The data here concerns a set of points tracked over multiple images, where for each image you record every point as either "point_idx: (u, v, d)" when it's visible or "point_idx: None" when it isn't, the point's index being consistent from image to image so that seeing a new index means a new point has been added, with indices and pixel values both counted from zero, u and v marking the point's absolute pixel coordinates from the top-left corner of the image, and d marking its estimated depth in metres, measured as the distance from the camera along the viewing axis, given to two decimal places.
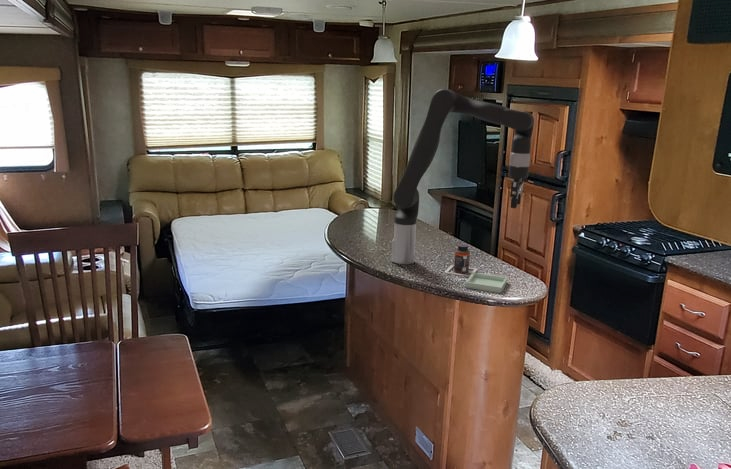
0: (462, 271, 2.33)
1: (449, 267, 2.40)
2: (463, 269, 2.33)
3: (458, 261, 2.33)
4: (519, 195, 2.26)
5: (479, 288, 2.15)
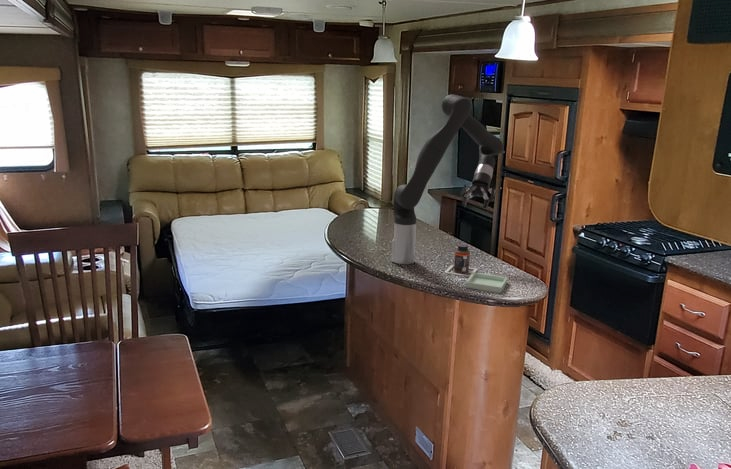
0: (462, 271, 2.33)
1: (449, 267, 2.40)
2: (463, 269, 2.33)
3: (458, 261, 2.33)
4: (467, 200, 2.46)
5: (479, 288, 2.15)
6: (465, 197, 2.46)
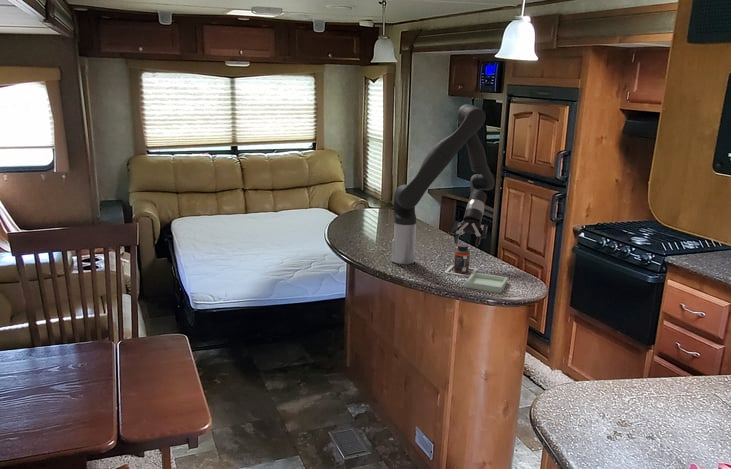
0: (462, 271, 2.33)
1: (449, 267, 2.40)
2: (463, 269, 2.33)
3: (458, 261, 2.33)
4: (458, 236, 2.42)
5: (479, 288, 2.15)
6: (457, 234, 2.41)
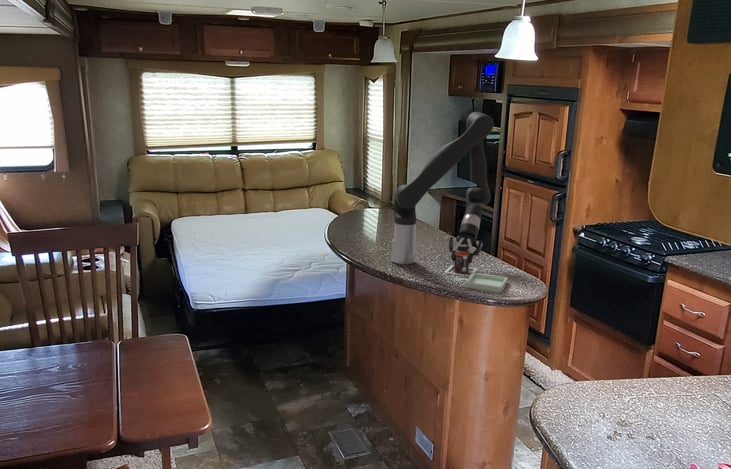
0: (462, 271, 2.33)
1: (449, 267, 2.40)
2: (463, 269, 2.33)
3: (458, 261, 2.33)
4: None
5: (479, 288, 2.15)
6: (454, 251, 2.36)
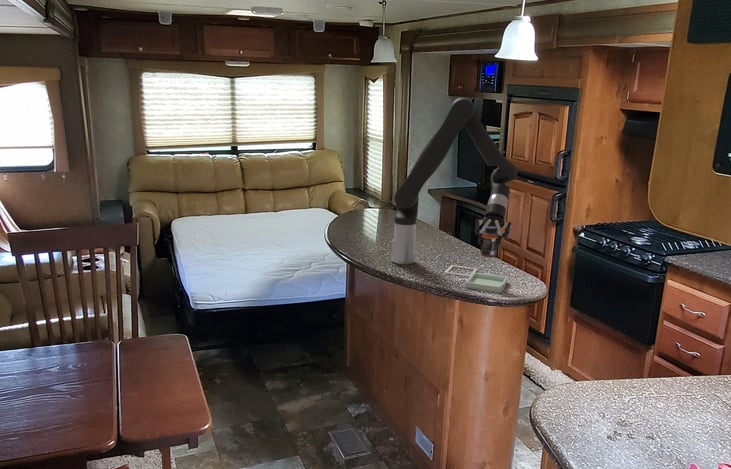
0: (490, 255, 2.16)
1: (449, 267, 2.40)
2: (491, 252, 2.16)
3: (486, 244, 2.16)
4: None
5: (479, 288, 2.15)
6: (481, 233, 2.19)
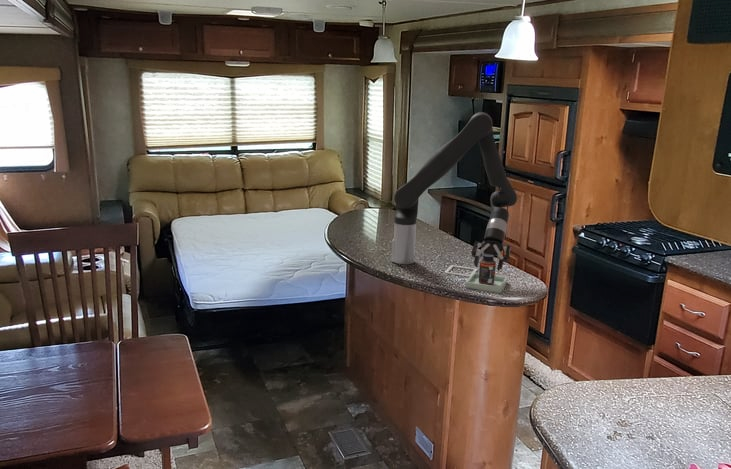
0: (488, 283, 2.18)
1: (449, 267, 2.40)
2: (489, 280, 2.17)
3: (483, 272, 2.17)
4: (478, 259, 2.21)
5: (479, 288, 2.15)
6: (477, 256, 2.20)
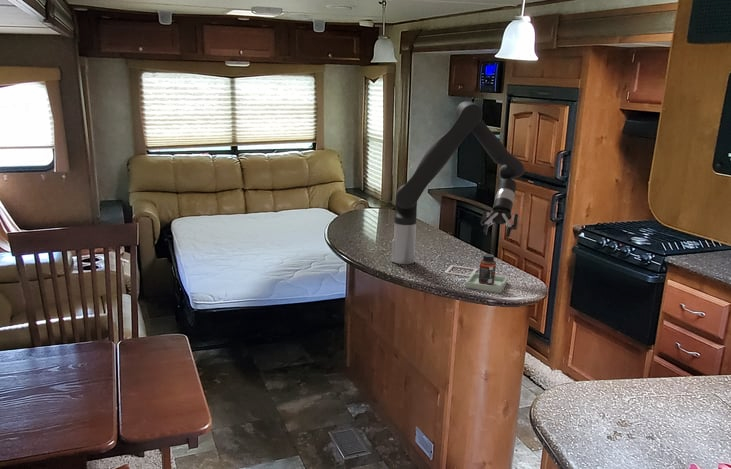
0: (488, 283, 2.18)
1: (449, 267, 2.40)
2: (489, 280, 2.17)
3: (484, 272, 2.17)
4: (487, 227, 2.30)
5: (479, 288, 2.15)
6: (486, 224, 2.29)
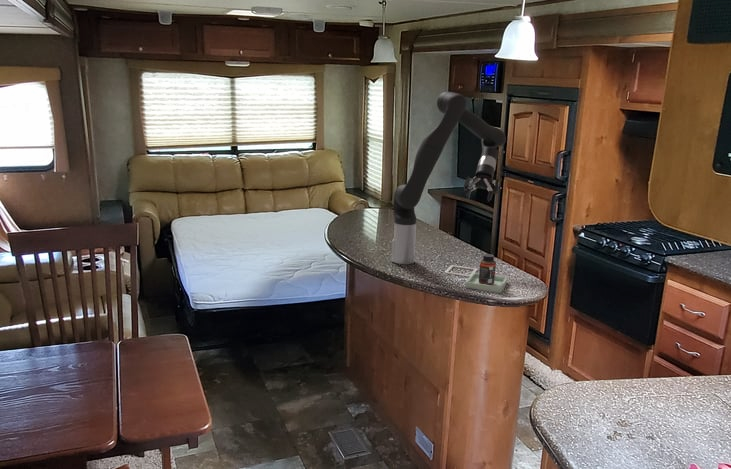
0: (488, 283, 2.18)
1: (449, 267, 2.40)
2: (489, 280, 2.17)
3: (484, 272, 2.17)
4: (470, 192, 2.43)
5: (479, 288, 2.15)
6: (469, 189, 2.42)
